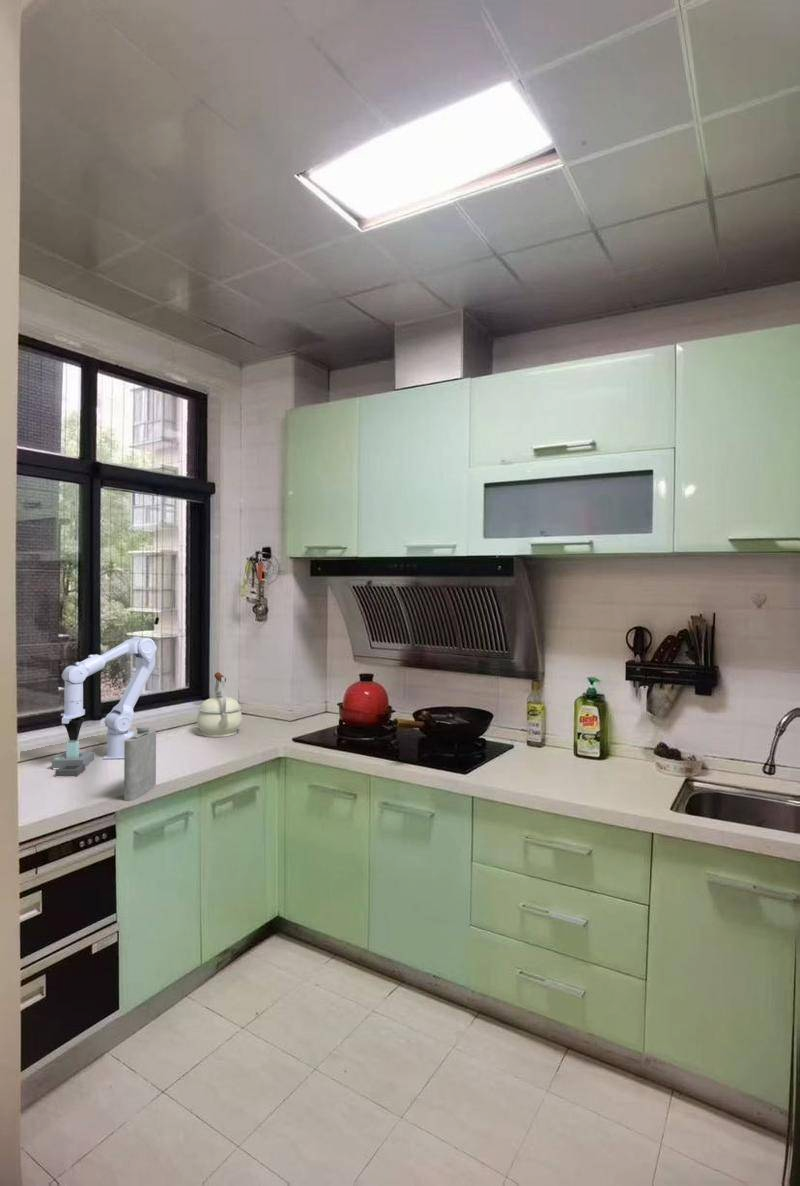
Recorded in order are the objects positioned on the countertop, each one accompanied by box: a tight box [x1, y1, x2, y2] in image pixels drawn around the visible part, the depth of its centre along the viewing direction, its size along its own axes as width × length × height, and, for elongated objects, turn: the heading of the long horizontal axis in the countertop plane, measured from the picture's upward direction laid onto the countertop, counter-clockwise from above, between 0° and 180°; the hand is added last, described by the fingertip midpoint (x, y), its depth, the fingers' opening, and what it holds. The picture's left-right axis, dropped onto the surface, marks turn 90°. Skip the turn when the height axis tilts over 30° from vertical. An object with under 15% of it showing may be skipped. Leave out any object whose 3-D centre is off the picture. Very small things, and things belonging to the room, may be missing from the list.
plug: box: [65, 739, 80, 758], centre depth 216 cm, size 3×3×9 cm
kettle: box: [196, 672, 243, 738], centre depth 261 cm, size 25×18×25 cm
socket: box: [51, 751, 95, 769], centre depth 216 cm, size 10×10×3 cm
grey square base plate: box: [54, 764, 87, 777], centre depth 206 cm, size 7×7×2 cm
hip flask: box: [123, 725, 157, 802], centre depth 189 cm, size 16×4×20 cm, turn 176°
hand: (73, 739), depth 216 cm, fingers closed, pressing on plug
